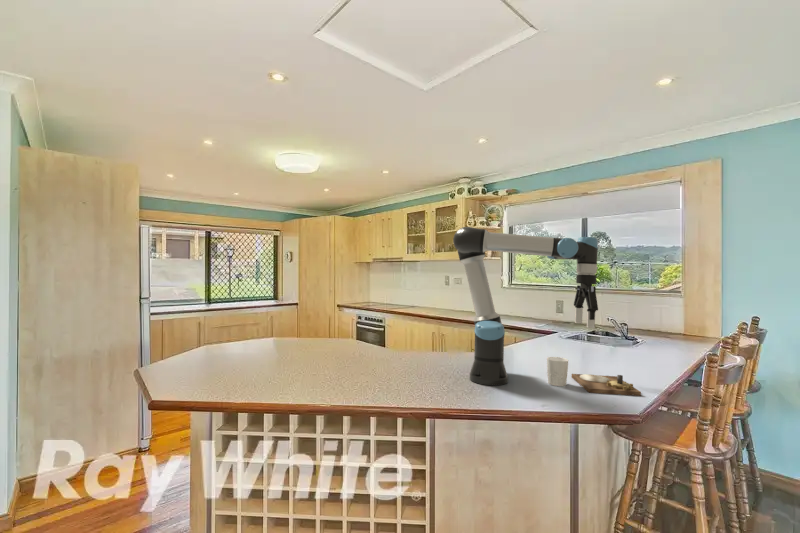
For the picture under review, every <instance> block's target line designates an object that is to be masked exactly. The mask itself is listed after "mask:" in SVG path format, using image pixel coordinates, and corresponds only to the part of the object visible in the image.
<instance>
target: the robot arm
mask: <svg viewBox="0 0 800 533" xmlns="http://www.w3.org/2000/svg"><path fill="white" fill-rule="evenodd" d="M598 242H599V240H598V238H596V237H593V236H581V237H578V238H577V241H576V240H575V239H574V238H571V237H564V238H562V237H560V238H559V237H550V236H537V235H528V234H527V235H524V234H516V233H514V234H513V233H504V232H503V233H502V232H490V231H488V230H487V229H485V228H477V227H472V226H463V227H461V228H459V229H457V230H456V231H455V233H454V235H453V245H454V248H455V249H456V250H457V256H458V258H459V259H458V260H459V262H460V263H462V264H463V265H464V266H463V267H464V269H465V273H466V277H467V282H468V287H469V291H470V295H471V299H472V305H473V307H474V311H475V312H474V313H475V317H474V319H473V323H474V331H473V332H474V353H473V354H474V355H473V356H474V357H473V358H474V359H473V362H472V365H471V369H470V372H469V380H470V381H471V382H473V383H476V384H479V385H485V386H502V385H505V384H506V385H507V384H508V383H509V382H508V381H509V376H508V372H507V370H506V367H505V361H504V356H505V354H504V352H505V351H504V350H505V333H506V331H505V327H504V324H503V323H502V320H501V316H500V314H498V313H497V312H496V310H495V305H494V302H493V297H492V293H491V289H490V284H489V279H488V275H487V272H486V267H485V263H484V259H485V257H486V253H485V252H487V251H490V252H500V253H511V254H519V255H531V256H544V257H547V259H549V260H573V261H575V260H576V279H575V280H576V281H575V282H576V284H578V285H576V292H575V297H574V301H573V306H574V307H575V310H574V311H575V314H574V315H575V317H574V323H575V324H583V313H584V312H583V311H584V310H583V309H584V302H585V301H586V305H587V309H586V312H587V313H586V317H587V318H586V328H587V329H595V328H596V312H597V311H599V305H598V300H597V293H596V292H597V291H596V286H593V285H596V284H597V275H596V274H597V271H598V269H599V267H598V254H599V253H598V250H599V245H598V244H599V243H598ZM579 284H580V285H579Z"/></svg>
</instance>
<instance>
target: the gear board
mask: <svg viewBox="0 0 800 533" xmlns="http://www.w3.org/2000/svg"><path fill="white" fill-rule="evenodd" d="M571 378H572V379H573V380H574V381H575V382H576V383H577V384H578V385H580V387H582V388H583V389H584V390H585V391H586V392H587V393H591V394H592V393H593V394H606V395H618V394H621V395H622V396H633V397H634V396H636V397H642V391H640V390H638V389H637V388H636V387H635V386H634V384H633V383H629V382H627V381H624V380H623V379H624V378H623V375H622V374H617V375H615V376H613V375H598V374H582V373H579V374H578V373H571Z"/></svg>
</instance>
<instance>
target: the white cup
mask: <svg viewBox="0 0 800 533" xmlns="http://www.w3.org/2000/svg"><path fill="white" fill-rule="evenodd" d="M546 360H547V361H546V364H547V365H546V367H547V368H546V369H547V372H546V374H547V383H548V385H550V386H553V387H554V386H556V387H566V386H567V379H568V372H569V371H568V370H569V360H568V358H564V357H560V356H547V358H546Z"/></svg>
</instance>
